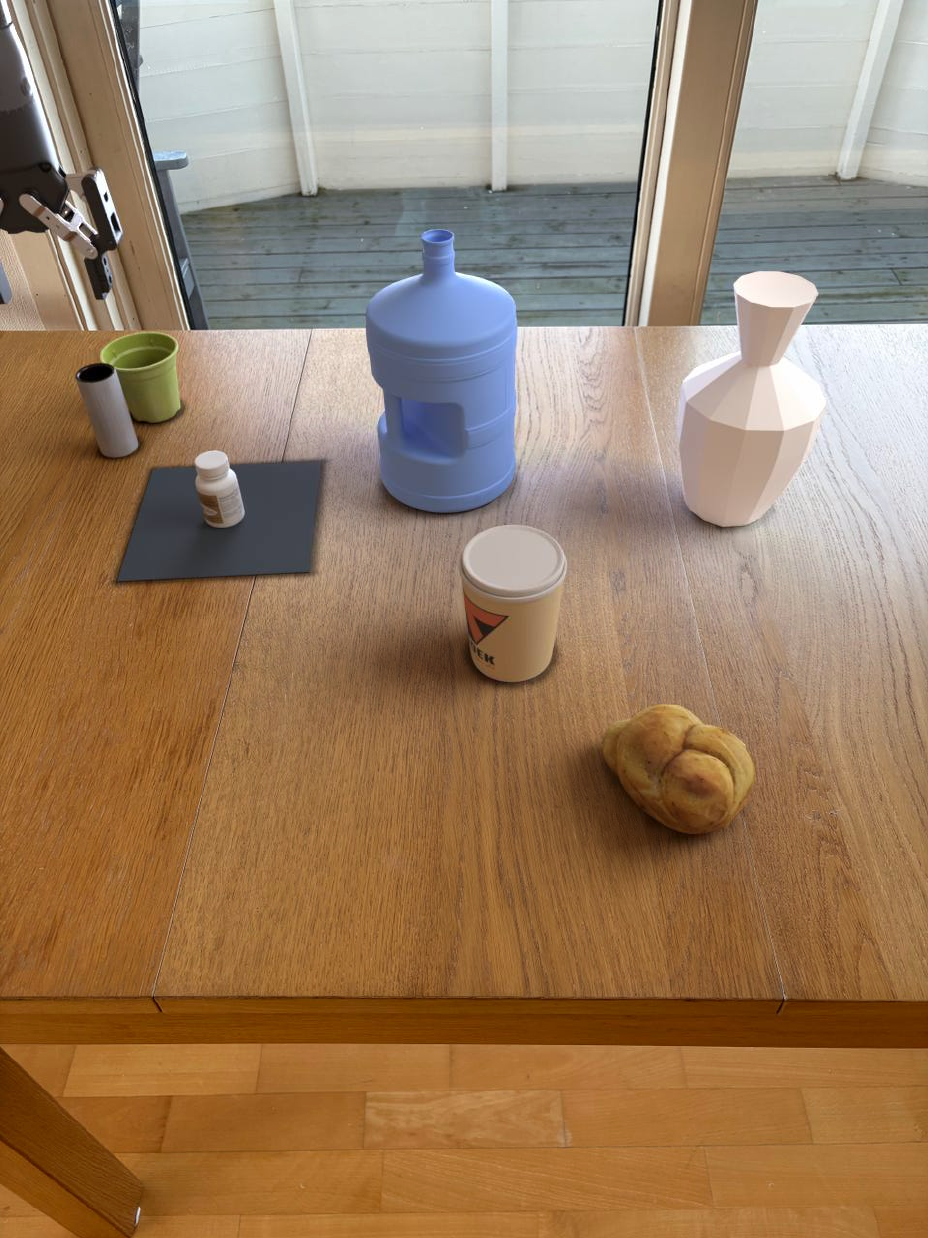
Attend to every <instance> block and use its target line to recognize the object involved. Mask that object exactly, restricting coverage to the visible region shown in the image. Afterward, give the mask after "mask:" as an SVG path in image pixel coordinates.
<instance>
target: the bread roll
mask: <svg viewBox="0 0 928 1238" xmlns="http://www.w3.org/2000/svg"><path fill="white" fill-rule="evenodd" d="M601 746H602V747H601V751H602V752H601V753H602V755H603V759H604V761H605V763H606V765H607V766H608V768H609V769H610V770H611V771H612V773H614V774H615V775H616V776H617V777H618V779H619V782H620V784H621V786H622V788H623V790H624V791H625V793H626V794H627V795H628V797H629V798H630V799H631V800H633V802H635V804H636V805H637V806H638V807H639V808H640V810H642V811H644V813H646V814H647V815H648V816H649V817H651V818H653V819H654V820H656V821H657V822H658V823H660V824H662V825H663V826H665V827H667V828H668V829H671V830H673V831H677V832H679V833H682V834H685V835H690V834H691V835H700V834H701V835H702V834H707V833H711V832H715V831H717V830H720V829H723V828H727V827H728V826H729V825H730V824H731V823H732V821H733V820H734V818H735V817H736V816H737V815H738V814H739V813H740V812H741V811H742V810H743V809H745V808H746V804H747V802H748V800H749V797H750V795H751V794H752V791H753V787H754V784H755V781H756V777H755V776H756V775H755V773H756V771H755V768H754V767H755V766H754V763H753V760H752V756H751V754H750V753H749V751H748V750H747V749H746V746H747V744H745V743H744V742H743V740H741V739H739V737H737V736H736V735H735V734H733V733H731V732H730V731H729V730H728V729H726V728H722V727H719V726H715V725H713V724H705V723H703V721H702V720H701V719H699V718H698V717H697V716H696V715H695V714H694V713H693V712H691V710H688V709H687V708H685V707H683V706H682V705H679V704H663V703H660V704H656V705H653V706H649V707H646V708H643V709H642V710H640V711H638V712H637V713H636V714H634V715H633V716H632V717H631V718H629V719H620V720H617V721H614V722H613V723H611V724H610V725H609V726H608V727H607V728H606V730H605V732H604V734H603V737H602V741H601Z"/></svg>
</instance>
